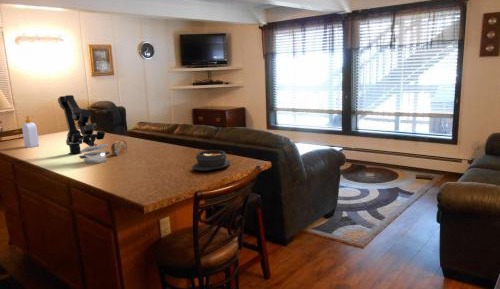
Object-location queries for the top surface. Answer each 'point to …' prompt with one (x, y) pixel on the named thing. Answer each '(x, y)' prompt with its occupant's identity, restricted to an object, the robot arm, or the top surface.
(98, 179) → the top surface
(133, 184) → the top surface
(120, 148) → the tin
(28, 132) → the soap bottle
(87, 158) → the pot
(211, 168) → the casserole
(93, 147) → the lid
